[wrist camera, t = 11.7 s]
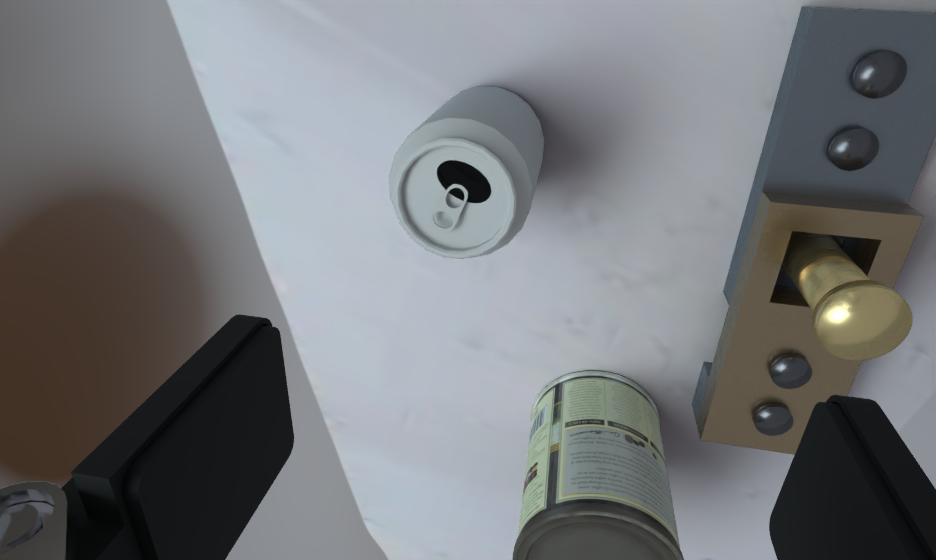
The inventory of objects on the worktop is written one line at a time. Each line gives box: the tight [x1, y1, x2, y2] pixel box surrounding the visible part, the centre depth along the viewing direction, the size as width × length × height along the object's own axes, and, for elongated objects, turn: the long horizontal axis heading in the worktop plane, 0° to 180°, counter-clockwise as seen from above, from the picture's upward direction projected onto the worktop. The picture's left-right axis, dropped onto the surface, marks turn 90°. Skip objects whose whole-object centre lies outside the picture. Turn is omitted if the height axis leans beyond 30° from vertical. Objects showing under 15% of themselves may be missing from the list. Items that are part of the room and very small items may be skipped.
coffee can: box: [513, 371, 684, 560], centre depth 42 cm, size 10×10×14 cm
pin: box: [782, 231, 912, 360], centre depth 34 cm, size 4×4×10 cm
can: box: [389, 86, 544, 259], centre depth 34 cm, size 8×8×12 cm
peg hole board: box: [692, 7, 936, 454], centre depth 36 cm, size 28×8×5 cm, turn 178°
